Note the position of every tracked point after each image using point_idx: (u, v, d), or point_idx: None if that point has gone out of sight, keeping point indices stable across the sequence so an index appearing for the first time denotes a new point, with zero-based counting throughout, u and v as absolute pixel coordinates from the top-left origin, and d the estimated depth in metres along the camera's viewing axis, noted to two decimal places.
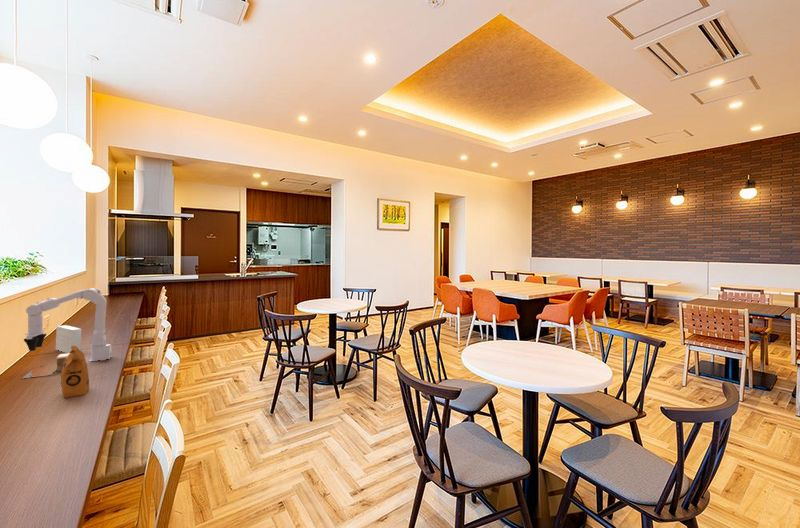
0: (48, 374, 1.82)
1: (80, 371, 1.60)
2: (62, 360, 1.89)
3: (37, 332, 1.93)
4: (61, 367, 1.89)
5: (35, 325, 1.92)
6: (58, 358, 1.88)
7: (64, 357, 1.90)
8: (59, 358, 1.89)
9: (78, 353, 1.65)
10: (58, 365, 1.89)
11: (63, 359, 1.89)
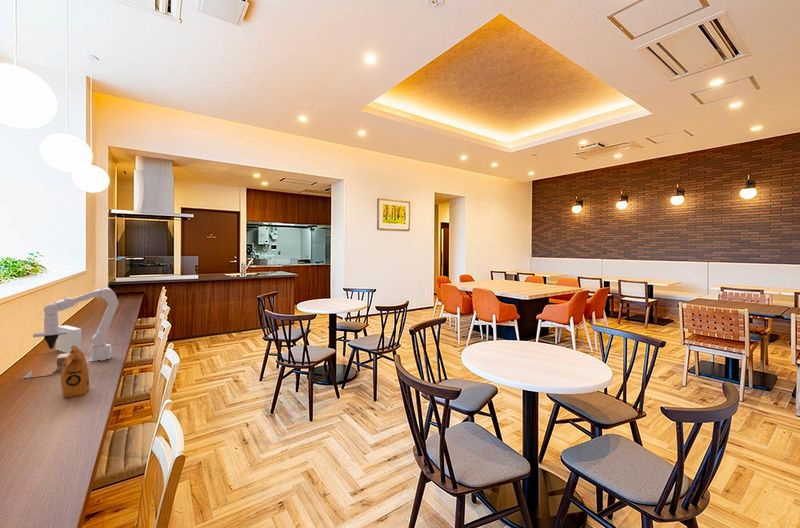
0: (48, 374, 1.82)
1: (80, 371, 1.60)
2: (62, 360, 1.89)
3: (44, 332, 1.92)
4: (61, 367, 1.89)
5: (53, 324, 1.93)
6: (58, 358, 1.88)
7: (64, 357, 1.90)
8: (59, 358, 1.89)
9: (78, 353, 1.65)
10: (58, 365, 1.89)
11: (63, 359, 1.89)
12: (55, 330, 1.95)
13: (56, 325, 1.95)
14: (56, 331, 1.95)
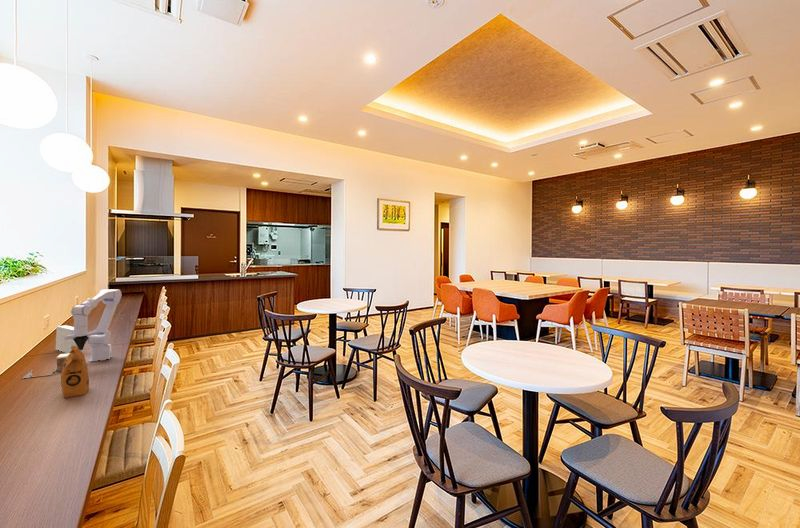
0: (48, 374, 1.82)
1: (80, 371, 1.60)
2: (62, 360, 1.89)
3: (77, 333, 1.92)
4: (61, 367, 1.89)
5: (87, 325, 1.96)
6: (58, 358, 1.88)
7: (64, 357, 1.90)
8: (59, 358, 1.89)
9: (78, 353, 1.65)
10: (59, 365, 1.89)
11: (63, 359, 1.89)
12: (87, 331, 1.96)
13: (87, 326, 1.96)
14: (87, 332, 1.96)
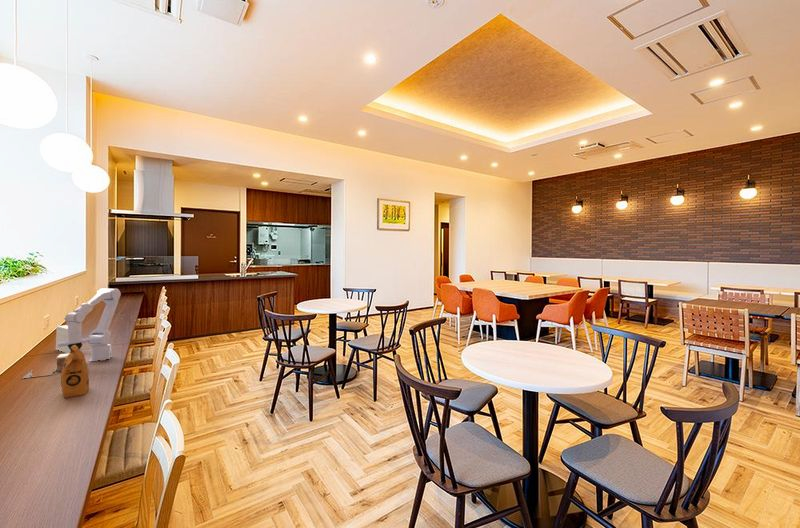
0: (48, 374, 1.82)
1: (80, 371, 1.60)
2: (62, 360, 1.89)
3: (70, 341, 1.91)
4: (61, 367, 1.89)
5: (80, 332, 1.94)
6: (58, 358, 1.88)
7: (64, 357, 1.90)
8: (59, 358, 1.89)
9: (78, 353, 1.65)
10: (58, 365, 1.89)
11: (63, 359, 1.89)
12: (81, 338, 1.95)
13: (81, 333, 1.95)
14: (81, 339, 1.95)
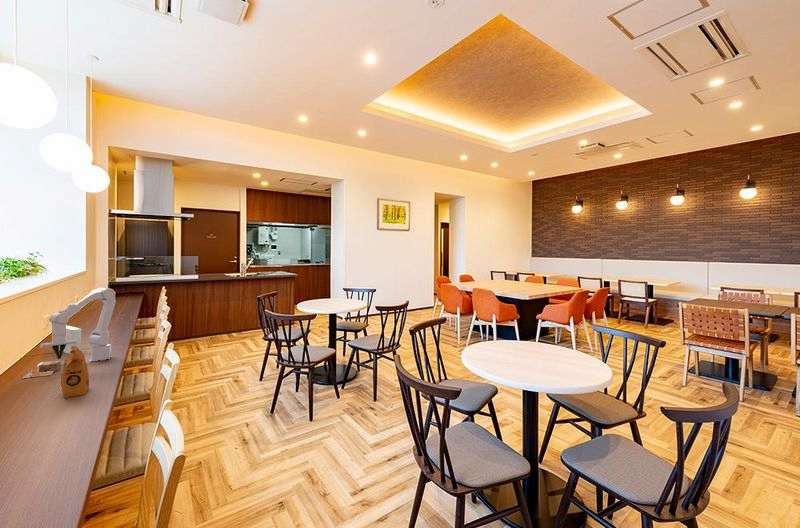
0: (48, 374, 1.82)
1: (80, 371, 1.60)
2: (42, 368, 1.85)
3: (53, 342, 1.87)
4: (51, 367, 1.87)
5: (64, 333, 1.90)
6: (39, 371, 1.84)
7: (38, 366, 1.84)
8: (39, 370, 1.85)
9: (78, 353, 1.65)
10: (49, 369, 1.87)
11: (41, 367, 1.85)
12: (64, 339, 1.90)
13: (65, 334, 1.91)
14: (65, 340, 1.91)
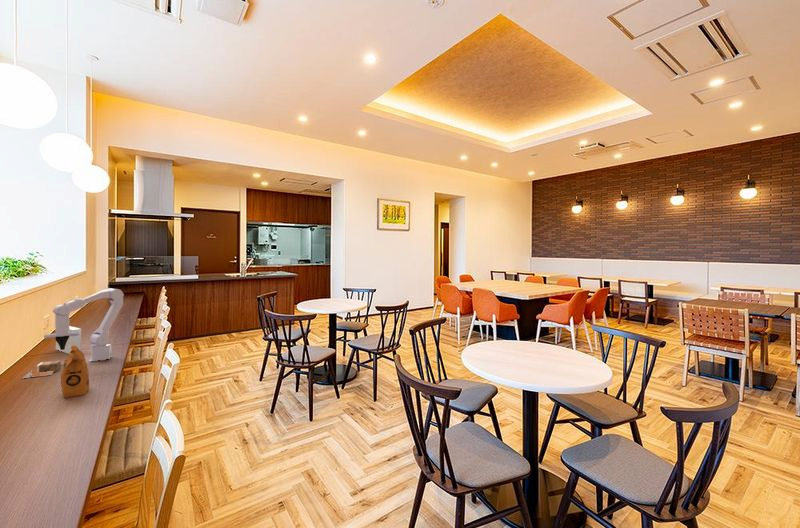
0: (48, 374, 1.82)
1: (80, 371, 1.60)
2: (42, 368, 1.85)
3: (56, 333, 1.91)
4: (51, 367, 1.87)
5: (66, 325, 1.93)
6: (39, 371, 1.84)
7: (38, 366, 1.84)
8: (39, 370, 1.85)
9: (78, 353, 1.65)
10: (49, 369, 1.87)
11: (41, 367, 1.85)
12: (66, 331, 1.93)
13: (67, 326, 1.94)
14: (67, 332, 1.94)
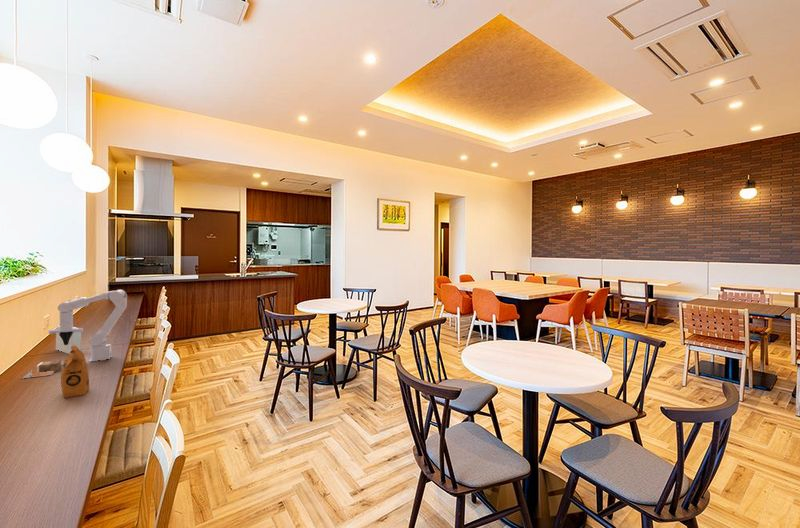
0: (48, 374, 1.82)
1: (80, 371, 1.60)
2: (42, 368, 1.85)
3: (60, 329, 2.00)
4: (51, 367, 1.87)
5: (65, 322, 2.00)
6: (39, 371, 1.84)
7: (38, 366, 1.84)
8: (39, 370, 1.85)
9: (78, 353, 1.65)
10: (49, 369, 1.87)
11: (41, 367, 1.85)
12: (70, 327, 2.02)
13: (71, 322, 2.03)
14: (71, 328, 2.03)
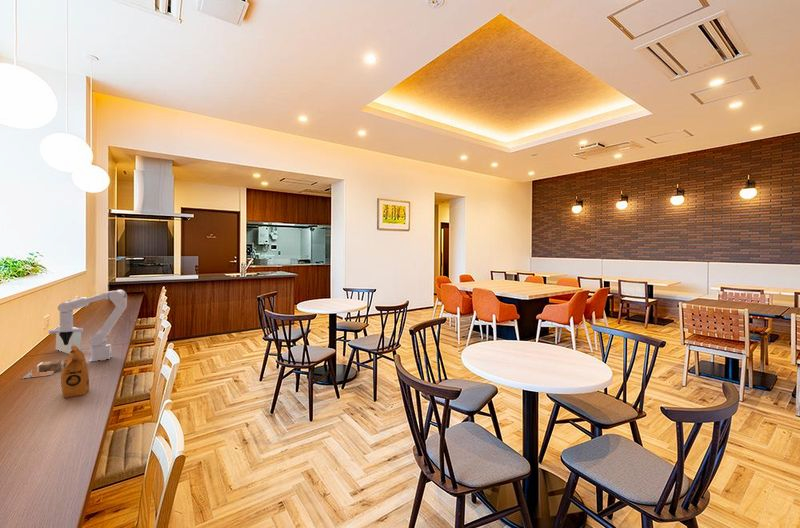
0: (48, 374, 1.82)
1: (80, 371, 1.60)
2: (42, 368, 1.85)
3: (60, 329, 2.00)
4: (51, 367, 1.87)
5: (65, 322, 2.00)
6: (39, 371, 1.84)
7: (38, 366, 1.84)
8: (39, 370, 1.85)
9: (78, 353, 1.65)
10: (49, 369, 1.87)
11: (41, 367, 1.85)
12: (70, 327, 2.02)
13: (71, 322, 2.03)
14: (71, 328, 2.03)
